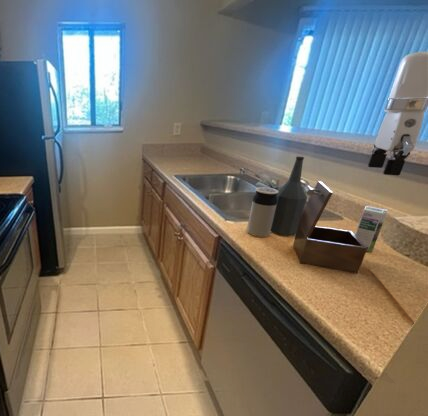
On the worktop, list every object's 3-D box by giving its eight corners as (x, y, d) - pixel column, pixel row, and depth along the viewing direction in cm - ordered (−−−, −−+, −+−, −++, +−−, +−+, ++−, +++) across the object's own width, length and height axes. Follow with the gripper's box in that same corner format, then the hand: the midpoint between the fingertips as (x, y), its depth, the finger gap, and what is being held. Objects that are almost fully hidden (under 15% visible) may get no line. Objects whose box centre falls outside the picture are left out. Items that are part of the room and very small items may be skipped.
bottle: (282, 224, 116) (300, 153, 105) (303, 235, 107) (324, 158, 96) (261, 227, 114) (277, 155, 103) (280, 237, 105) (300, 159, 94)
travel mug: (268, 239, 103) (279, 194, 97) (245, 234, 107) (254, 191, 101) (269, 231, 110) (279, 188, 103) (247, 227, 114) (255, 185, 107)
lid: (321, 181, 89) (304, 177, 90) (333, 192, 78) (313, 188, 80) (300, 223, 95) (284, 218, 97) (308, 238, 85) (291, 233, 86)
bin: (343, 254, 93) (351, 230, 90) (357, 274, 82) (367, 248, 79) (292, 246, 99) (298, 223, 96) (299, 263, 88) (306, 239, 85)
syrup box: (350, 246, 98) (363, 209, 92) (352, 241, 101) (365, 204, 96) (371, 252, 94) (387, 213, 88) (373, 247, 97) (388, 209, 92)
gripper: (448, 106, 62) (418, 179, 68) (407, 105, 77) (385, 165, 83) (404, 106, 65) (379, 176, 71) (372, 105, 80) (354, 163, 86)
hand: (382, 170), depth 77 cm, fingers open, 9 cm apart
